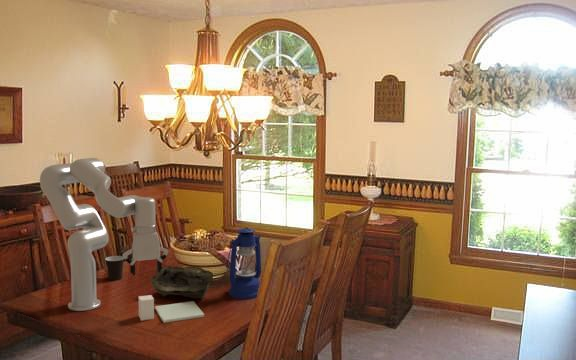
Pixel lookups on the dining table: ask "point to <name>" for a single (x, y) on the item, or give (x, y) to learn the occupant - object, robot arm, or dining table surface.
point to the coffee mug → (114, 267)
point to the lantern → (244, 282)
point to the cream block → (146, 307)
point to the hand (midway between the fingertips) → (146, 273)
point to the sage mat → (179, 311)
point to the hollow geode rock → (182, 281)
